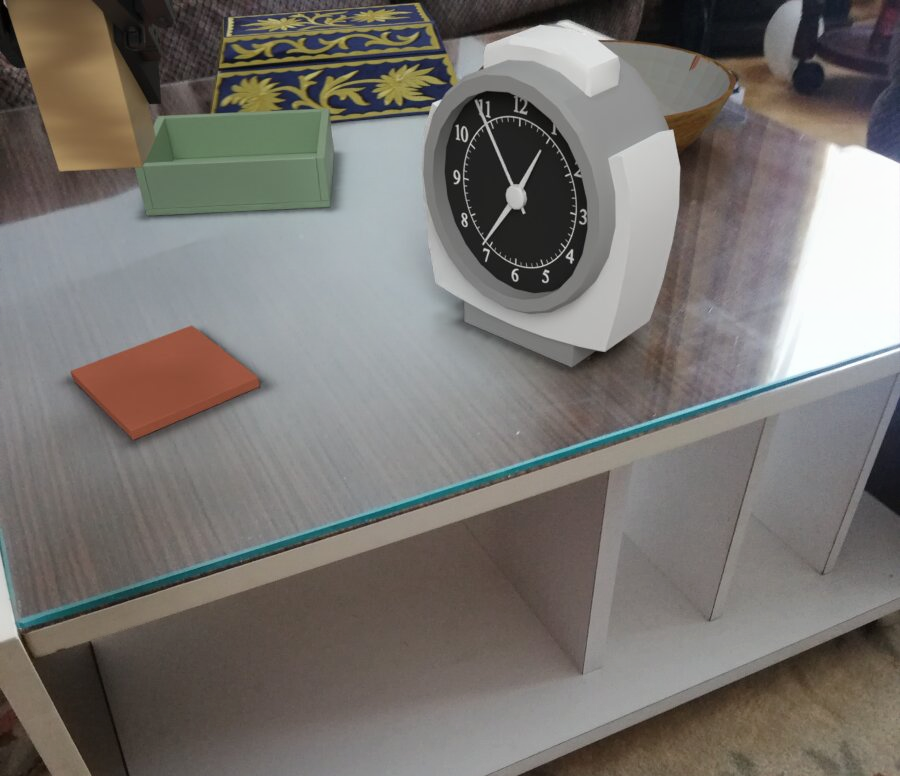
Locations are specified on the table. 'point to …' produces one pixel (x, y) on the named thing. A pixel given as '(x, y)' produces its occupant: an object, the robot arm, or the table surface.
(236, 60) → the decorative box
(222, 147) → the bin
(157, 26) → the robot arm
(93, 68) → the block
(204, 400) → the mat
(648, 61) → the bowl
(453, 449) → the table surface
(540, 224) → the alarm clock
